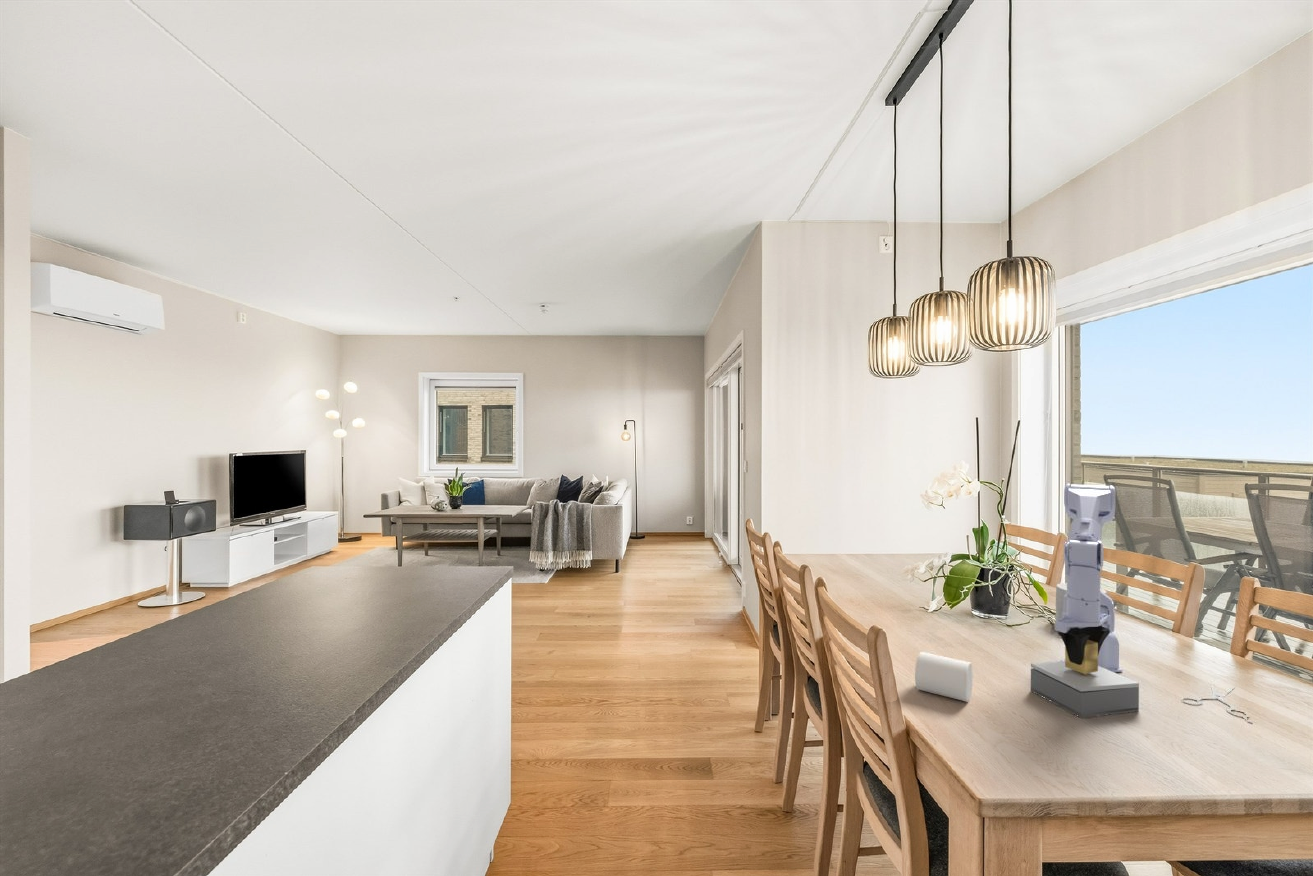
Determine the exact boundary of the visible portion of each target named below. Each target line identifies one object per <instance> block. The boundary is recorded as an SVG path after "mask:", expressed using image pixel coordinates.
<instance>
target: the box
mask: <svg viewBox="0 0 1313 876" xmlns="http://www.w3.org/2000/svg"><path fill="white" fill-rule="evenodd" d="M1031 691H1033V692H1035V693H1037V694H1038V696H1039V695H1040V696H1039V697H1041V696H1043V697H1045V698H1046V699H1047V700H1046V699H1045V700H1046V701H1048V700H1051V701H1052V702H1053V703H1052V702H1051V703H1052V704H1054V703H1055V704H1056V705H1055V704H1054V705H1055V706H1057V705H1059V706H1061V707H1062V709H1063V708H1064V709H1063V710H1065V711H1067V710H1068V711H1070V712H1071V713H1070V712H1069V713H1070V714H1072V713H1073V714H1072V715H1074V714H1076V715H1078V716H1079V717H1078V716H1077V717H1078V718H1080V719H1084V718H1083V717H1087V718H1092V717H1091V716H1095V717H1098V716H1097V715H1104V716H1107V715H1106V714H1112V715H1119V714H1118V713H1121V714H1126V713H1128V712H1129V713H1135V711H1138V712H1140V705H1139V704H1140V703H1139V702H1140V686H1139V687H1133V688H1120V689H1108V690H1095V691H1083V692H1081V691H1079V690H1077V689H1075V688H1073V687H1071V686H1069V685H1067V684H1064V683H1062V682H1060V681H1058V680H1056V679H1054V678H1052V677H1050V676H1048V675H1046V674H1044V673H1042V672H1040V671H1038V670H1036V669H1034V668H1032V667H1031V668H1030V692H1031ZM1033 692H1032V693H1033ZM1035 693H1034V694H1035ZM1037 694H1036V695H1037ZM1059 706H1058V707H1059ZM1061 707H1060V708H1061ZM1068 711H1067V712H1068ZM1116 713H1117V714H1116ZM1129 713H1128V714H1129ZM1076 715H1075V716H1076Z"/></svg>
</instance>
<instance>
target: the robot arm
mask: <svg viewBox="0 0 1313 876" xmlns="http://www.w3.org/2000/svg"><path fill="white" fill-rule="evenodd" d="M1116 493H1117V492H1116V488H1115V486H1114V485H1096V484H1095V485H1093V484H1076V483H1075V484H1071V483H1066V485H1064V490H1063V502H1064V503H1063V504H1064V507H1065V513H1066V514H1067V517H1068V518H1070V519H1072V520H1073V521H1072V522H1071V523H1070V524H1069V525H1070V526H1069V532H1068V533H1069V534H1068V541H1065V542H1064V547H1063V562H1064V566H1065V575H1066V583H1067V593H1066V595H1065V597H1064V605H1063V613H1062V618H1061V619H1060V620H1057V621H1056V620H1055V621H1054V631H1056V632H1057V633H1058V635H1059V636H1060V638H1061V640H1062V641H1063V644H1064V648H1065V647H1066V650H1067V654H1068V657H1069V660H1070V662H1072V663H1075V664H1078V665H1081V664H1082V661H1083V656H1084V648H1085V645H1086V642H1087V640H1091V641H1094V642H1097V643H1098V666H1100V667H1102V668H1105V669H1107V670H1109V671H1112V672H1114V673H1118V672H1119V673H1120V672H1123V668H1120V643H1119V640H1118V638H1117V636H1116V635H1115V633H1114V632H1115V623H1116V622H1115V620H1116V619H1115V615H1116V614H1115V601H1113V598H1111V597H1110V596H1109V595H1108V594H1107V595H1106V594H1105V593H1103V592H1102V591H1101V590H1100V588H1101V579H1102V577H1101V574H1102V573H1101V571H1102V570H1103V568H1104V546H1103V541H1102V539H1103V526H1104V524H1105V523H1107V522H1111V521H1114V517H1115V514H1116V513H1115V511H1116V496H1117V495H1116ZM1100 603H1103V604H1105V605H1106V606H1105V605H1100ZM1060 661H1065V658H1064V659H1063V658H1062V659H1060Z"/></svg>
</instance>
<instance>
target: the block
mask: <svg viewBox="0 0 1313 876" xmlns="http://www.w3.org/2000/svg"><path fill="white" fill-rule="evenodd" d="M1064 659H1065V667H1067V668H1070V669H1073V670H1075V671H1078V672H1081V673H1083V674H1088V673H1092V672H1096V671H1098V643H1097V642H1094V641H1091V640H1087V642H1086V645H1085V648H1084V656H1083V661H1082V664H1081V665H1078V664H1075V663H1072V662H1070V660H1069V657H1068V654H1067V650H1066V647H1065V646H1064Z"/></svg>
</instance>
